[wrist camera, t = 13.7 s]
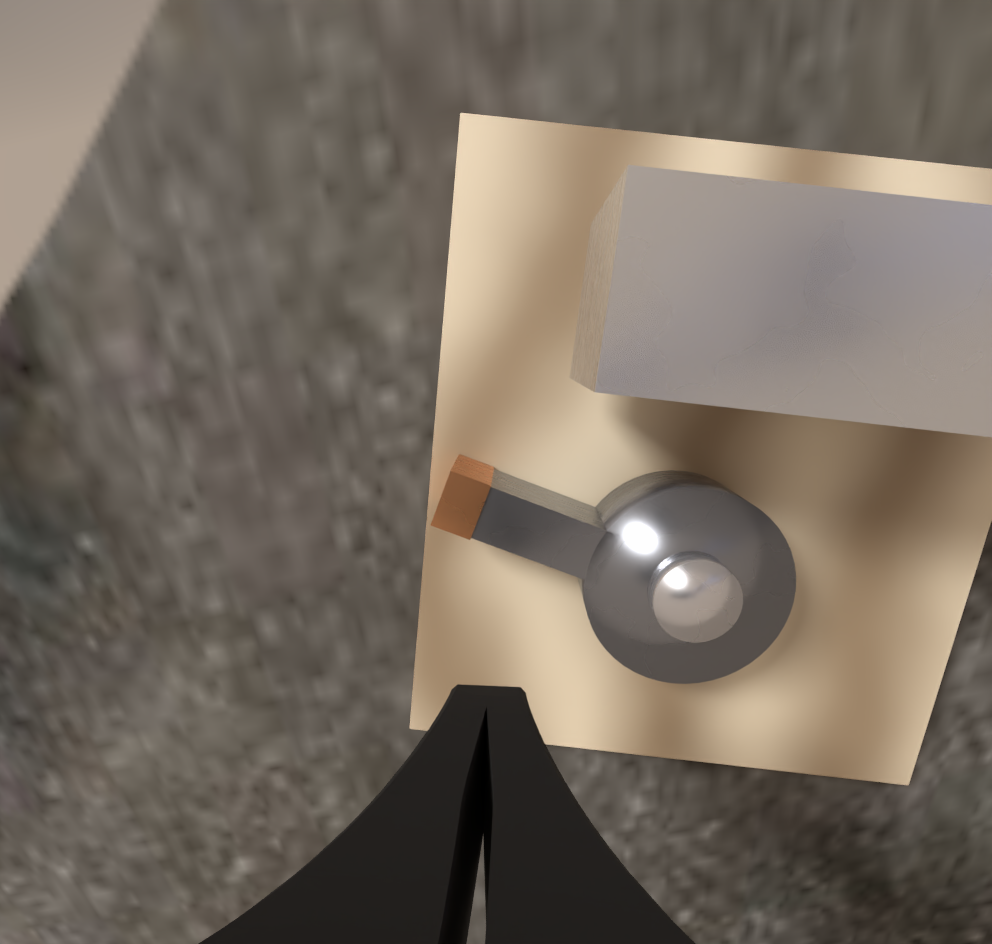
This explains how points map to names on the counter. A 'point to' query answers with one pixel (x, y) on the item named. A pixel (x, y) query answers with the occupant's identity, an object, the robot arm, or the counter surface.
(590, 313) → the grey long rectangular block
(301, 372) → the counter surface
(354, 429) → the counter surface
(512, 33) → the counter surface
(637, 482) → the grey lidded pan
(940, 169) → the wooden board
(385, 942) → the robot arm
